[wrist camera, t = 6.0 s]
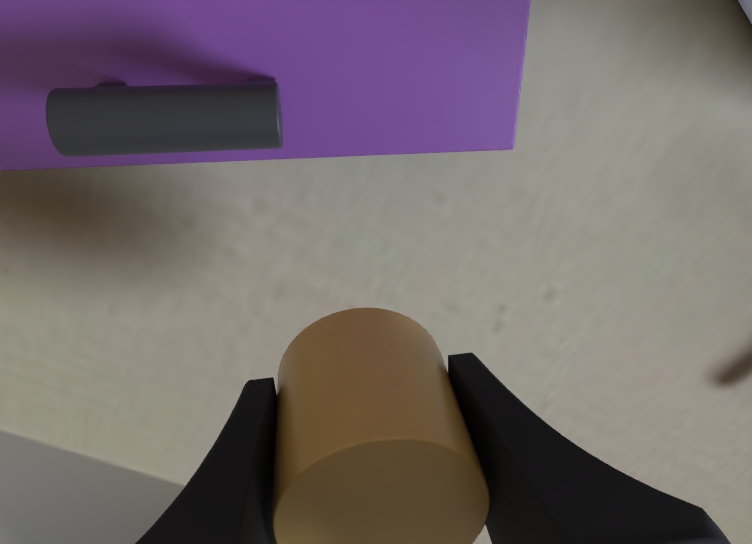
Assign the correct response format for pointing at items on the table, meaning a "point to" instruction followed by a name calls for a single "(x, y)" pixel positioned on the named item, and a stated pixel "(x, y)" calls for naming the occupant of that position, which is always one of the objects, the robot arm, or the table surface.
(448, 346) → the table surface
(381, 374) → the cylinder
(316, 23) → the cover
